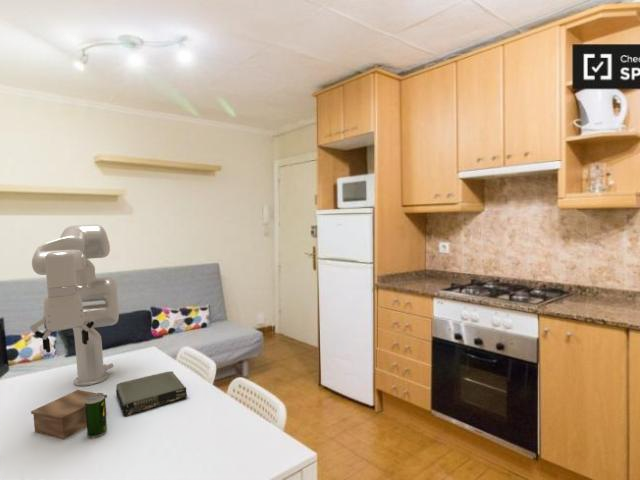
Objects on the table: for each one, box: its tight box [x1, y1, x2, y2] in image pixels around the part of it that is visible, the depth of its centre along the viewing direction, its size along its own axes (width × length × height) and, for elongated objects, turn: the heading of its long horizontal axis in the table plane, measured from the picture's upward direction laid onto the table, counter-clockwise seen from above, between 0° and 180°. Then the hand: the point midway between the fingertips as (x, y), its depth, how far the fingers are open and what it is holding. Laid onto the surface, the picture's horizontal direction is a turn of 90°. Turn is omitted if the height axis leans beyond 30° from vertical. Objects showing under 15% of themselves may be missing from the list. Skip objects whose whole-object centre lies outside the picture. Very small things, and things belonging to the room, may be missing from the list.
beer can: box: [85, 392, 108, 439], centre depth 124 cm, size 5×5×12 cm
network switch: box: [115, 371, 187, 417], centre depth 148 cm, size 23×24×5 cm
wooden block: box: [30, 389, 108, 440], centre depth 131 cm, size 16×14×7 cm
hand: (66, 347), depth 122 cm, fingers open, 9 cm apart
